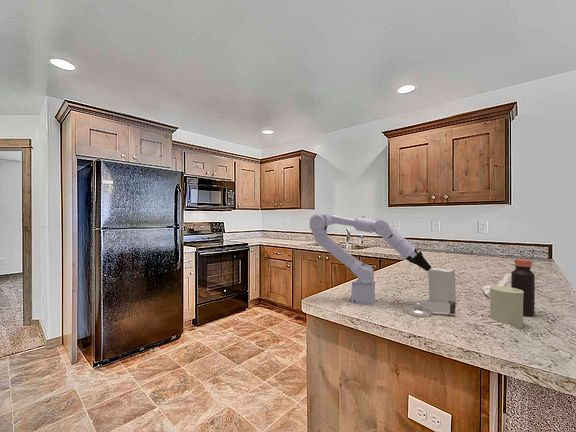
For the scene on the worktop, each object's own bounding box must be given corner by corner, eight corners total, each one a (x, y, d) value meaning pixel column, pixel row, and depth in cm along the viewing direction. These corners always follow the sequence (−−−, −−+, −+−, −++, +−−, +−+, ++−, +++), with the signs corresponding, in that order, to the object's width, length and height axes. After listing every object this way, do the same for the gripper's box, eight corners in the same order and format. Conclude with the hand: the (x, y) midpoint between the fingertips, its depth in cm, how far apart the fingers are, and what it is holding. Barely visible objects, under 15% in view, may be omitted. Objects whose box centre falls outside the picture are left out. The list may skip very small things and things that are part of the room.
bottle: (512, 309, 112) (512, 258, 112) (535, 313, 107) (535, 260, 107) (509, 313, 107) (510, 260, 107) (533, 318, 102) (533, 262, 102)
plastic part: (481, 294, 134) (481, 269, 134) (506, 296, 131) (506, 270, 131) (488, 298, 127) (488, 272, 127) (514, 300, 124) (514, 274, 124)
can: (526, 330, 91) (526, 292, 91) (490, 324, 95) (490, 288, 96) (521, 321, 98) (521, 286, 98) (488, 316, 103) (488, 283, 103)
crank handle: (406, 315, 99) (406, 302, 99) (402, 307, 108) (402, 295, 108) (459, 320, 95) (459, 306, 95) (451, 311, 104) (451, 298, 104)
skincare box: (456, 307, 114) (456, 270, 114) (448, 310, 110) (448, 271, 110) (435, 302, 120) (436, 266, 121) (427, 304, 117) (428, 268, 117)
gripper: (409, 236, 105) (439, 262, 101) (403, 235, 119) (430, 258, 115) (395, 250, 105) (425, 276, 102) (391, 247, 119) (417, 271, 116)
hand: (427, 268), depth 109 cm, fingers open, 7 cm apart
